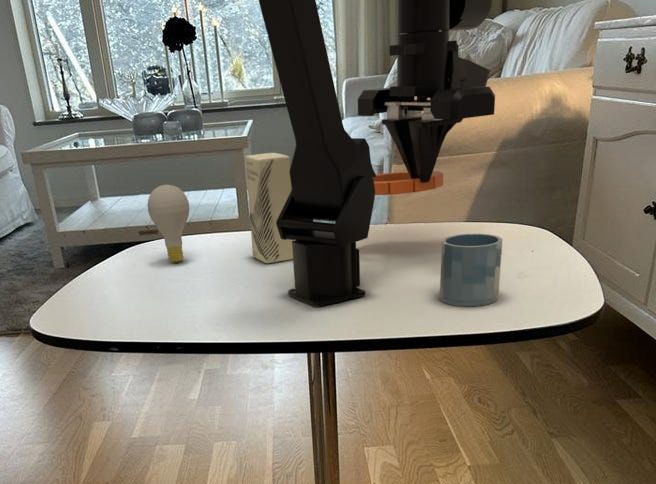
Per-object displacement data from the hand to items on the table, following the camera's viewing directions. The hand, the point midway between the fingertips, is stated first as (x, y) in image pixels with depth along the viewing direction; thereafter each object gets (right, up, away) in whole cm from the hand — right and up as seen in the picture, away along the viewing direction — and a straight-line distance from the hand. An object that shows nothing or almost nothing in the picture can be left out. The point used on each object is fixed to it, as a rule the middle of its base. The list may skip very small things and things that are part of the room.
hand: (420, 181), depth 91 cm
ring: (-2, +1, +4) cm, 5 cm away
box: (-18, -7, +10) cm, 22 cm away
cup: (+3, -17, -12) cm, 21 cm away
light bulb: (-32, -7, +11) cm, 34 cm away
